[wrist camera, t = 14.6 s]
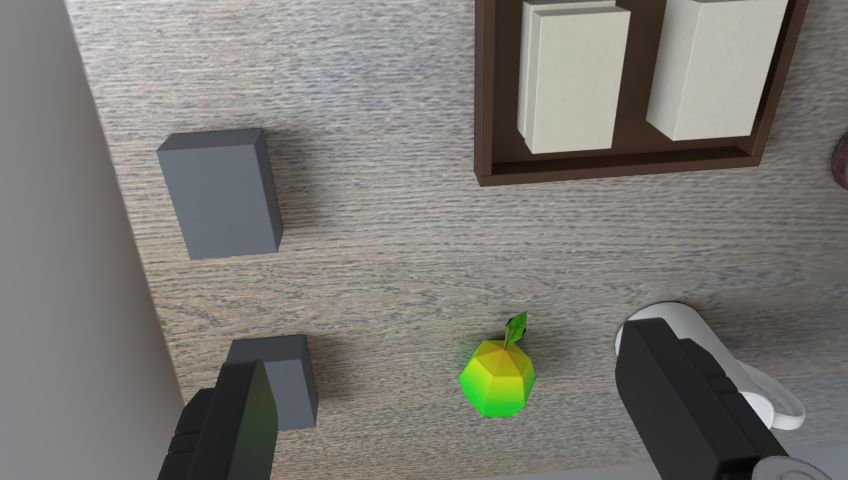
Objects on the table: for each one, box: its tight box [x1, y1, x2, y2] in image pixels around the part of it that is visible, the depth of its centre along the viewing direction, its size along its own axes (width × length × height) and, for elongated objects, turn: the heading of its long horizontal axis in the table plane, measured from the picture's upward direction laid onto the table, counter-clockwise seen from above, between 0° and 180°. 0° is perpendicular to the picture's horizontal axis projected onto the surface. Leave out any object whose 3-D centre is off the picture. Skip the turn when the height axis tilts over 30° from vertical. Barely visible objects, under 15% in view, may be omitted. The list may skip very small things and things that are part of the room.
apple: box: [459, 311, 536, 417], centre depth 45 cm, size 7×6×9 cm
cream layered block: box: [517, 0, 631, 154], centre depth 33 cm, size 8×5×4 cm, turn 3°
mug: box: [615, 302, 806, 430], centre depth 45 cm, size 12×8×10 cm, turn 82°
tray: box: [474, 0, 809, 187], centre depth 35 cm, size 15×20×3 cm
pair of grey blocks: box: [156, 128, 318, 431], centre depth 41 cm, size 26×6×3 cm, turn 2°
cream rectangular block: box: [646, 0, 788, 141], centre depth 34 cm, size 8×5×4 cm, turn 2°
